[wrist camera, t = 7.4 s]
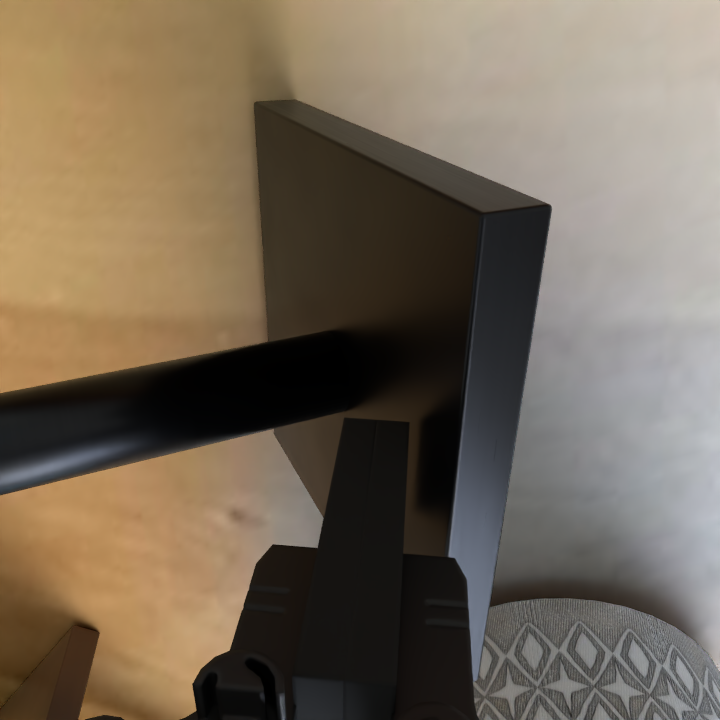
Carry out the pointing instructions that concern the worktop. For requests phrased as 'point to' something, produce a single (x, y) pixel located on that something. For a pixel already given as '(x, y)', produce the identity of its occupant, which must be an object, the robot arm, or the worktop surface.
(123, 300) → the worktop surface
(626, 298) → the worktop surface
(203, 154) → the worktop surface
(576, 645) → the planter
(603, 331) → the worktop surface
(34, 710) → the paper towel stand
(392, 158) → the black holder
